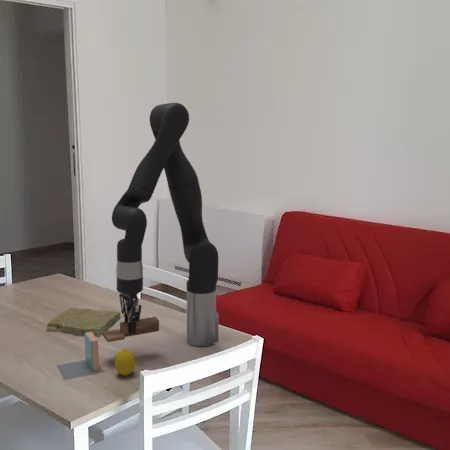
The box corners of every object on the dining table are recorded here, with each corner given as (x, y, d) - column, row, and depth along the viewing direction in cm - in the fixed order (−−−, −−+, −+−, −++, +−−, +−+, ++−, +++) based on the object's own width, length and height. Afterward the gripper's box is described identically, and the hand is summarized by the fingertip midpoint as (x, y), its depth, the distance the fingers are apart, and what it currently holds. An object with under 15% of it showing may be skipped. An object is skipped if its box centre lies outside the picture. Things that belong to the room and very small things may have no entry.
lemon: (136, 371, 164) (135, 344, 162) (134, 380, 158) (133, 353, 157) (116, 371, 163) (116, 345, 162) (113, 380, 158) (112, 353, 156)
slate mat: (94, 359, 171) (94, 358, 171) (104, 372, 163) (104, 371, 163) (56, 366, 166) (56, 365, 166) (64, 381, 158) (64, 379, 158)
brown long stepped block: (160, 332, 171) (160, 321, 170) (107, 342, 164) (107, 330, 163) (153, 326, 176) (153, 315, 176) (102, 334, 169) (101, 323, 169)
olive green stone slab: (68, 314, 209) (68, 305, 209) (121, 319, 205) (120, 309, 205) (42, 334, 191) (42, 324, 191) (99, 339, 187) (99, 329, 187)
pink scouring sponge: (92, 360, 169) (91, 331, 168) (99, 370, 163) (97, 340, 162) (85, 362, 169) (84, 332, 167) (92, 371, 162) (90, 341, 161)
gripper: (150, 280, 162) (150, 338, 166) (134, 267, 174) (135, 321, 178) (124, 283, 159) (125, 342, 162) (110, 270, 171) (111, 325, 174)
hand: (130, 331), depth 170 cm, fingers closed on brown long stepped block, 3 cm apart
